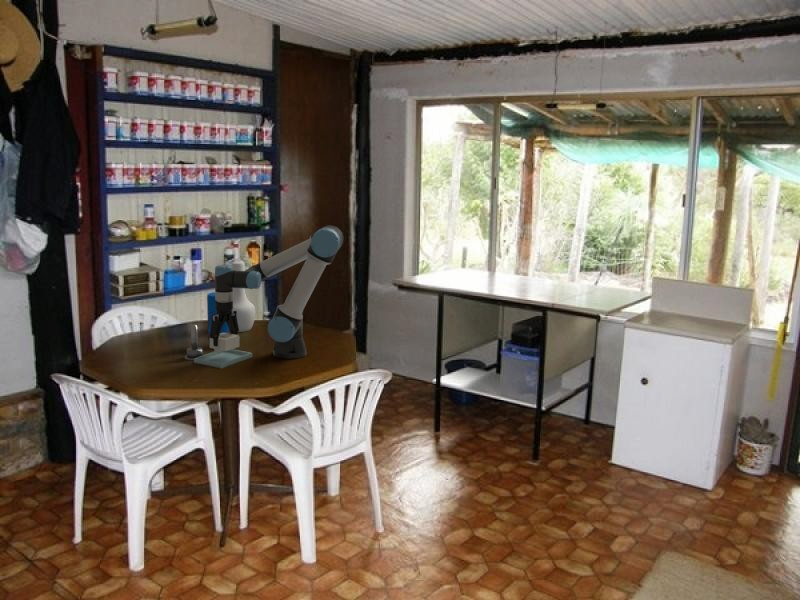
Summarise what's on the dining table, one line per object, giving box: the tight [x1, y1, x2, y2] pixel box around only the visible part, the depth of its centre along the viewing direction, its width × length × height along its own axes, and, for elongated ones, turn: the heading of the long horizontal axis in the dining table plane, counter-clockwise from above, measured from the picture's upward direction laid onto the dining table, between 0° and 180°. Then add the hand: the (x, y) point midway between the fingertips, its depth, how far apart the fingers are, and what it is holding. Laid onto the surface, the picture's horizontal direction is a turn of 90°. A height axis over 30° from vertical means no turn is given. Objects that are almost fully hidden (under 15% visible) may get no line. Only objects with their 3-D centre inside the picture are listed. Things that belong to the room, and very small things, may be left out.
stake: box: [184, 323, 205, 362], centre depth 315 cm, size 9×9×15 cm
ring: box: [209, 333, 240, 351], centre depth 313 cm, size 11×9×5 cm
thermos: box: [206, 291, 231, 348], centre depth 334 cm, size 11×11×25 cm
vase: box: [231, 261, 256, 333], centre depth 364 cm, size 17×17×35 cm
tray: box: [193, 349, 253, 369], centre depth 314 cm, size 15×20×2 cm
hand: (224, 350), depth 313 cm, fingers closed on ring, 9 cm apart
